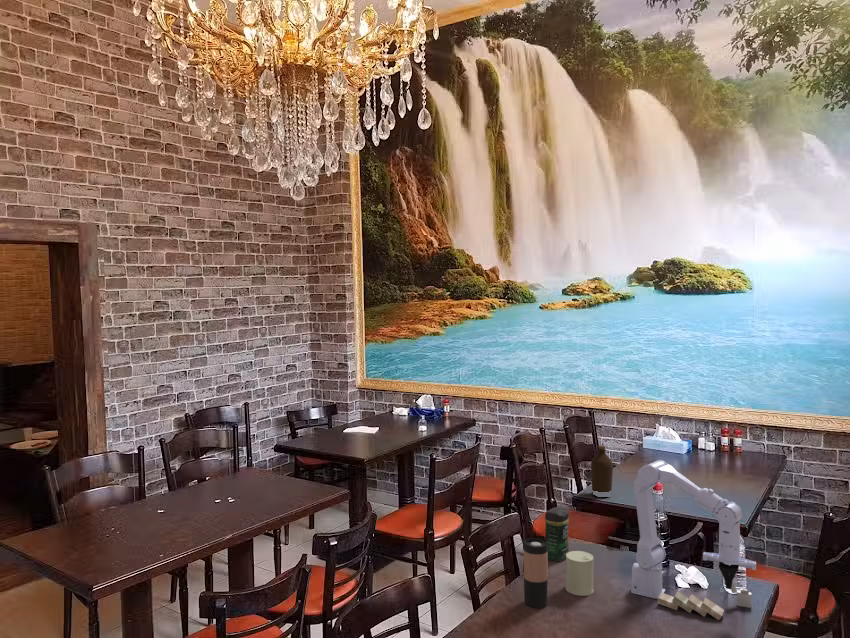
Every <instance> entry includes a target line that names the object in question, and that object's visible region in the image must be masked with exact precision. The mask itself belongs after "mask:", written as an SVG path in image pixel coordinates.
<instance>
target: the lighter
mask: <svg viewBox="0 0 850 638" xmlns="http://www.w3.org/2000/svg"><path fill="white" fill-rule="evenodd" d="M730 591H731V592H732V594H735V593H736V606H737V607H742V608H750V609H752V592H750V591H749V589H746V588H740V590H739V589H738V590H737V588H736V585H735V583H734V580H733V581H732V588H731V589H730Z"/></svg>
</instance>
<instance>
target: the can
mask: <svg viewBox="0 0 850 638" xmlns="http://www.w3.org/2000/svg"><path fill="white" fill-rule="evenodd" d="M565 559H566V560H565V561H566V562H565V565H566V566H565V567H566V568H565V569H566V570H565V572H566V575H565V580H566V581H565V590H566V591H567V593H569V594H571V595H574V596H578V597H580V596H581V597H584V596H585V597H586V596H590V595H592V594H593V593H594V591H595V590H594V556H593V554H591V553H589V552H586V551H584V550H583V551H582V550H572V551H569V552H568V553H567V554H566V558H565Z"/></svg>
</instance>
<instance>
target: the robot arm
mask: <svg viewBox="0 0 850 638" xmlns="http://www.w3.org/2000/svg"><path fill="white" fill-rule="evenodd" d="M658 483H659V484H660V485H662V484H663V485H664V484H671V485H673V486H675V487H677V488H678V489H680V490H682V491H684V492H685V493H687V494H688V495H690V496H692V497H693V499H694V500H695V503H696V504H697V505H699V506H700V507H702V508H703V509H705V510H706V511H707V512H709V513H711V514H712V515H713V516H715V518H716V519H717V522H719V527H718V553H717V552H716V553H715V552H706V551H704V552H703V553H702V561H711V562H716V563H719V564H718V569H719V571H720V573H721V574H722V577H723V580H724V584H725V589H726V590H727V589H729V590H731V588H732V581H733V582H734V578H735V576H736V574H737V573H738V570H739V568H740V567H741V568H746V569H751V570H753V571H756V569H757V561H753V560H750V559H747V558H744V557H740V554H741V553H740V552H741V551H740V547H741V542H740V541H741V530H740V529H741V528H740V527H741V525H740V524H741V523H740V520H742V518H743V516H744V515H743V513H744V512H743V509H742V507H741V506H740V505H738V504H737V502H734V501H729V500H728V499H726V498H723V497H721V496H720V495H718V494H717V493H715V490H713V489H712V488H707V487H703V488H701V487H699V486H697V484H695V483H694V482H692V481H691V480H689V479H688V478H687V477H685V476H684V475H683V474H682V473H680V472H678V471H677V470H676V469H675V468H674V466H672V465H671V464H669V463H667V462H666V461H664V460H662V459H656V460H655V461H654V462H650V463H649V464H644V465H643V466H641V467H640V468H639V469H638V470H637V476H636V477H635V481H634V482H633V489H634V490H633V491H634V498H635V499H634V500H635V504H636V512H637V513H636V514H637V521H638V522H637V523H638V529H639V540H638V543H637V545H636V554H635V559H636V562H634V563H633V565H632V568H631V591H630V593H631V594H634V595H638V596H642V597H646V598H651V599H656V600H658V597H659V595H660V593H664V594H665V592H666V588H663V561H664V560H665V559H666V555H667V554H666V550H665V548H664V546H663V543H662V540H661V538H660V537H659V536H658V533H657V532H658V531H657V524H656V517H655V508H654V499H653V494H652V493H653V492H652V489H653V488H654V487H655V486H656V485H658Z"/></svg>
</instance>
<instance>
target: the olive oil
mask: <svg viewBox="0 0 850 638" xmlns="http://www.w3.org/2000/svg"><path fill="white" fill-rule="evenodd" d="M597 451H598V453H597V454H596V455H595V456H594V457H592V458H591V459H592V460H591V462H590V473H591V474H590V475H591V476H590V477H591V491H592V490H593V491H598V492H609V491H611V490H612V489H613V475H614V474H613V473H614V472H613V471H614V464H613V461H612V459H611V458H610V457H609V456H608V455H607V453H606V445H603V444H599V445H598V449H597Z"/></svg>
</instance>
